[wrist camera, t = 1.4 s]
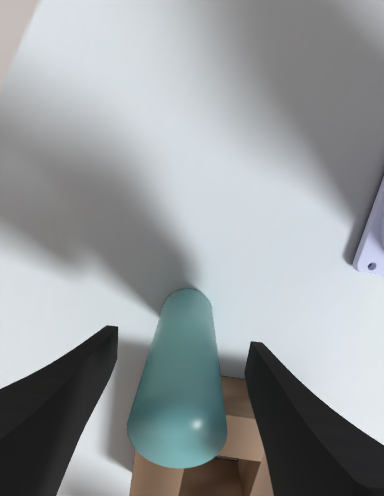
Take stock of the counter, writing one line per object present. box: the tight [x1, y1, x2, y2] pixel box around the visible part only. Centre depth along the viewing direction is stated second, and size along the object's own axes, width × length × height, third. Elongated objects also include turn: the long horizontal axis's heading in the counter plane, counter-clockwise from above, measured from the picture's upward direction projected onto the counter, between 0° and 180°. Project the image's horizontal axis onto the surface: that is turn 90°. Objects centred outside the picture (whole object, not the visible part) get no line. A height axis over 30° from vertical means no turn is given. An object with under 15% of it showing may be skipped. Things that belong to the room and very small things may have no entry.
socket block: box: [129, 376, 274, 496], centre depth 16 cm, size 12×12×3 cm
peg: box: [127, 289, 227, 468], centre depth 11 cm, size 4×4×8 cm
